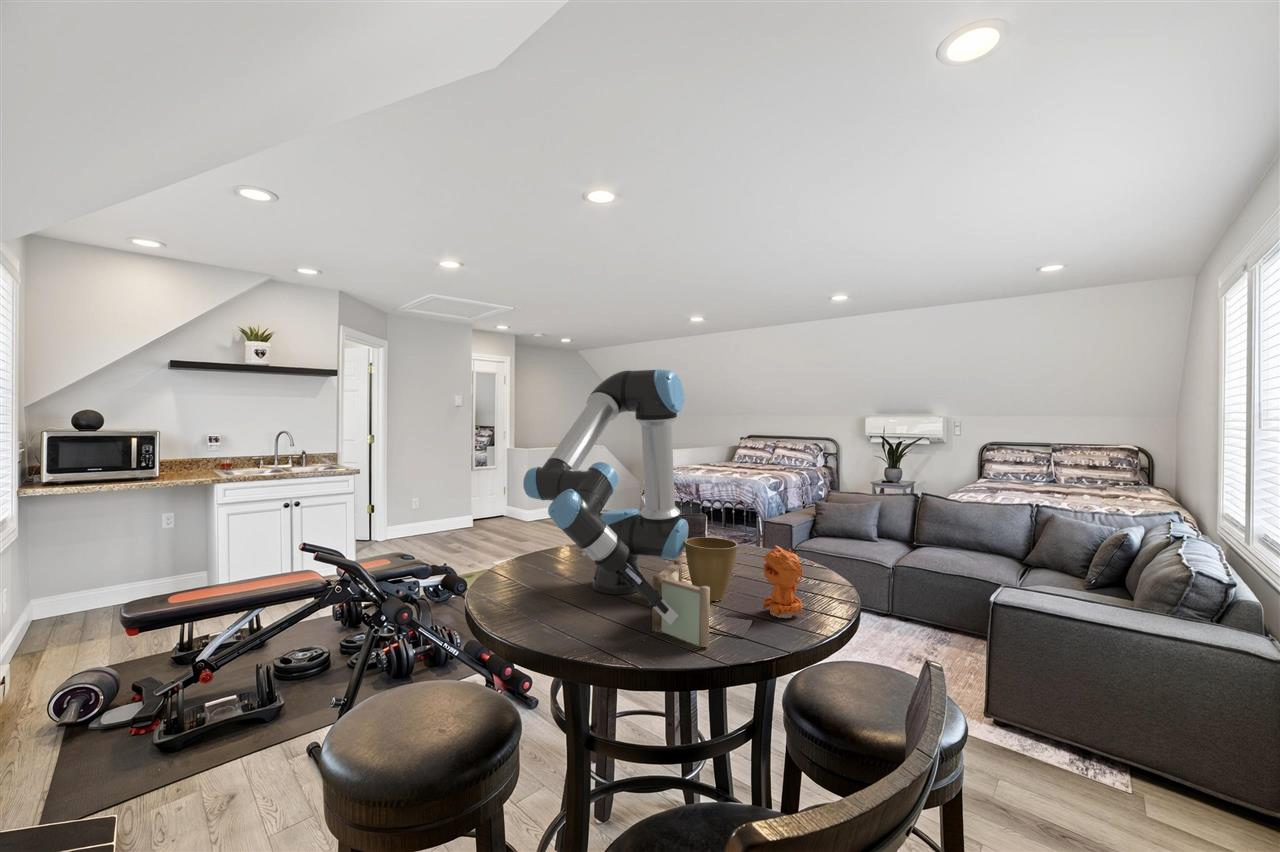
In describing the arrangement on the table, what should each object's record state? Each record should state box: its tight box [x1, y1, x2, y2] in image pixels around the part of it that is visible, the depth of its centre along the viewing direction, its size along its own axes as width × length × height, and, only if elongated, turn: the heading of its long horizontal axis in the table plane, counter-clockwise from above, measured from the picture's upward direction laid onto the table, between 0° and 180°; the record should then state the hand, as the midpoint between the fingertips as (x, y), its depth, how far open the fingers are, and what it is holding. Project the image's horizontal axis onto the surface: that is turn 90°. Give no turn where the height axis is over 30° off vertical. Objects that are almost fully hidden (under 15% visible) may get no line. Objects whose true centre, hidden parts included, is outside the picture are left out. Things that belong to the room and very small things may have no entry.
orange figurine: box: [762, 544, 804, 616], centre depth 142 cm, size 11×11×18 cm
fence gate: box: [661, 578, 711, 648], centre depth 124 cm, size 13×2×13 cm, turn 46°
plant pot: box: [684, 536, 738, 601], centre depth 154 cm, size 15×15×16 cm
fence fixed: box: [651, 559, 683, 633], centre depth 136 cm, size 16×3×14 cm, turn 156°
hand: (672, 618), depth 124 cm, fingers closed
